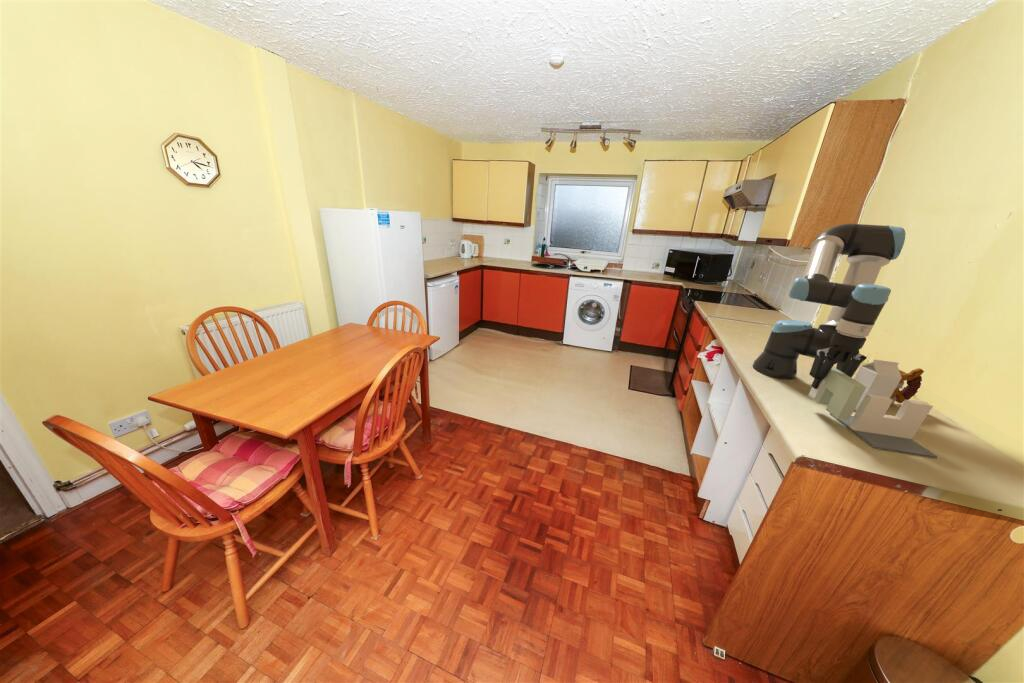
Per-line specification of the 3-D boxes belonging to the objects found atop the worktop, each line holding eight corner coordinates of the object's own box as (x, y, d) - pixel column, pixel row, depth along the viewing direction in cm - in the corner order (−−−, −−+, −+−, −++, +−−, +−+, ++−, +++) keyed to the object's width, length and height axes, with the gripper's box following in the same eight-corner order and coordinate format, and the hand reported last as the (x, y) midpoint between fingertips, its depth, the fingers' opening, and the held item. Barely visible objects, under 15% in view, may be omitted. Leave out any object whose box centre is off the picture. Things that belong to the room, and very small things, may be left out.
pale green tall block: (808, 395, 115) (822, 365, 110) (817, 396, 114) (832, 366, 109) (837, 418, 102) (855, 385, 97) (847, 420, 101) (866, 387, 97)
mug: (845, 389, 132) (863, 355, 126) (897, 398, 127) (918, 364, 121) (862, 402, 122) (882, 366, 117) (918, 413, 117) (942, 376, 112)
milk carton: (879, 415, 113) (908, 367, 106) (856, 412, 115) (883, 363, 108) (863, 405, 120) (889, 358, 113) (841, 401, 121) (866, 355, 114)
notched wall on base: (873, 448, 95) (895, 412, 91) (829, 414, 112) (846, 381, 107) (937, 458, 93) (962, 421, 89) (882, 421, 110) (901, 389, 105)
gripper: (830, 335, 100) (799, 399, 109) (890, 341, 98) (854, 406, 107) (814, 326, 107) (786, 388, 116) (870, 332, 105) (837, 394, 114)
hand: (819, 397), depth 112 cm, fingers closed on pale green tall block, 3 cm apart
